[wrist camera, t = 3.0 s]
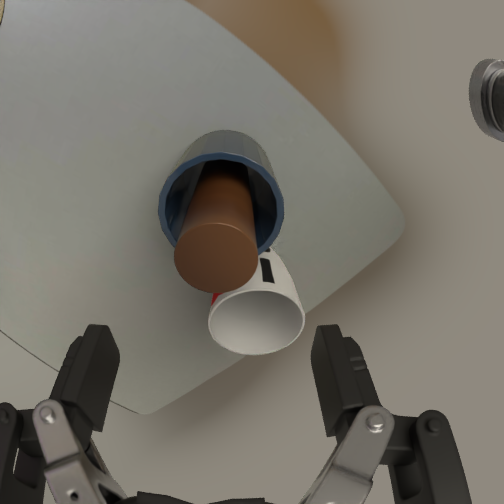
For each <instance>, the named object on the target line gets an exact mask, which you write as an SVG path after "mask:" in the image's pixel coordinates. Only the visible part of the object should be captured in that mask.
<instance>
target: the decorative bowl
mask: <svg viewBox="0 0 504 504" xmlns="http://www.w3.org/2000/svg"><path fill="white" fill-rule="evenodd" d="M4 1H5V0H0V23H1V20H2V16H3V10H4Z"/></svg>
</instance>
